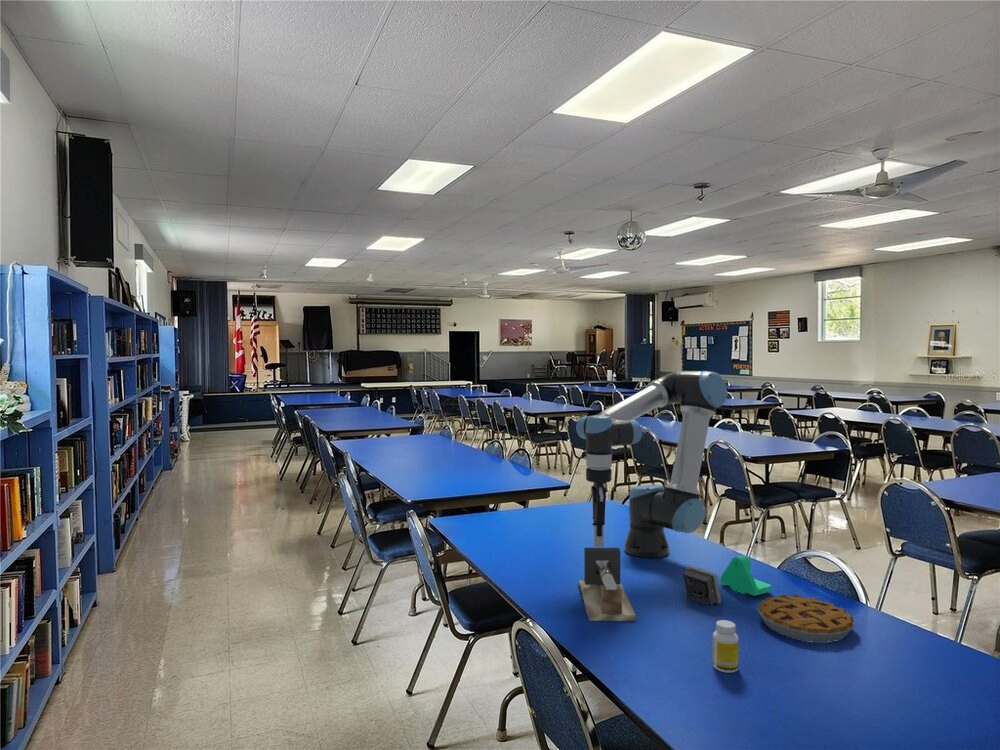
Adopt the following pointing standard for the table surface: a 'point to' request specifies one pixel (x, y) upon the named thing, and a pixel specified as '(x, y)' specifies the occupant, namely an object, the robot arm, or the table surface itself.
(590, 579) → the collar
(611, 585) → the pipe
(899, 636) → the table surface
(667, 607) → the table surface
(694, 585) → the electrical switch
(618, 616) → the pipe stand
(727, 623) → the supplement bottle
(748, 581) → the camera mount
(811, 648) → the table surface
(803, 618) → the pie
